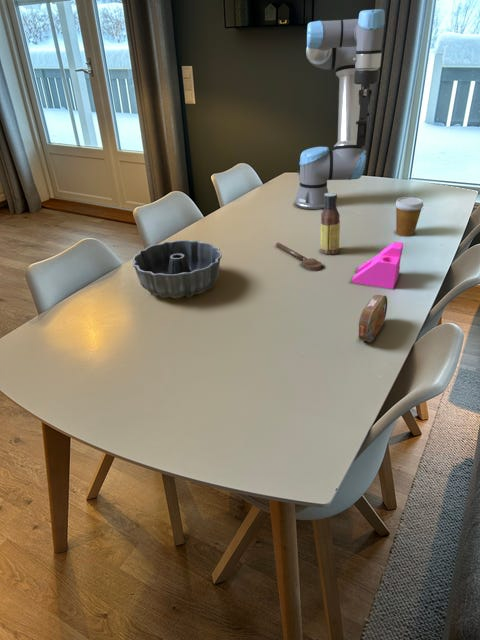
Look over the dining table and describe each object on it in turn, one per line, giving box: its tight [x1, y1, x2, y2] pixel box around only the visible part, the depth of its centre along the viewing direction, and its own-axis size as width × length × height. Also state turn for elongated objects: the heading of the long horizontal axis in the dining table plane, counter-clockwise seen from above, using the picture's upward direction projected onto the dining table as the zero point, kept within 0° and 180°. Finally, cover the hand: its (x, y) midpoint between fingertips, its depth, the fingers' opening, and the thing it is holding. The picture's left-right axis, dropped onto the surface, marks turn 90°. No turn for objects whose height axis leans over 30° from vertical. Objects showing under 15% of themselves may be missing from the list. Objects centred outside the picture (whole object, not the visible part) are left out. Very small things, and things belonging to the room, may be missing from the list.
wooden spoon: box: [275, 242, 323, 271], centre depth 157 cm, size 24×5×2 cm, turn 29°
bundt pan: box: [132, 239, 223, 299], centre depth 141 cm, size 26×26×10 cm
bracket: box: [351, 241, 404, 290], centre depth 139 cm, size 12×10×10 cm
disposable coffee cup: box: [395, 196, 424, 237], centre depth 168 cm, size 10×10×12 cm
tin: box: [358, 294, 388, 343], centre depth 114 cm, size 15×3×8 cm, turn 148°
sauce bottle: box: [320, 192, 341, 255], centre depth 155 cm, size 6×6×20 cm
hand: (361, 141), depth 156 cm, fingers open, 13 cm apart
